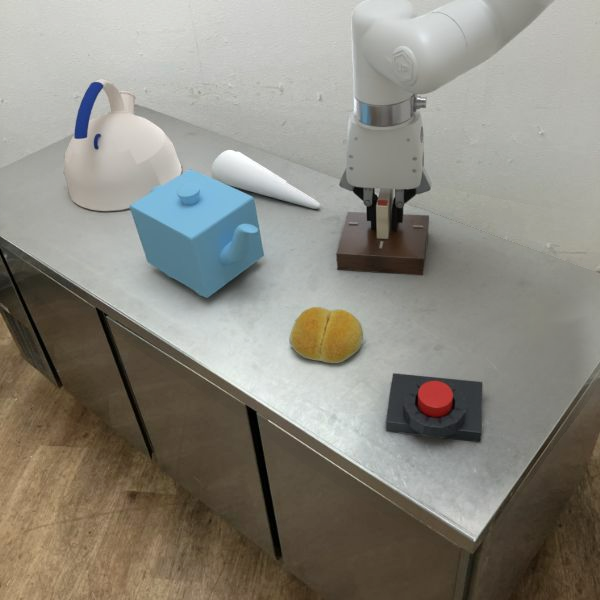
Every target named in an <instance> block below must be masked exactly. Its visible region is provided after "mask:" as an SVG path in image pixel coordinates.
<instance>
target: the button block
mask: <svg viewBox="0 0 600 600" xmlns="http://www.w3.org/2000/svg"><path fill="white" fill-rule="evenodd" d="M429 381H439V382H443V383H445V384H446V385H448V386H449V387H450V388H451V390H452V392H453V401H452V408H451V411H450V412H449V413H448V414H447V415H445V416H443V417H439V418H433V417H429V416H427V415H425V414H423V413H422V412H421V411H420V409H419V407H418V391H419V388H420V387H421V386H422V385H423V384H424V383H426V382H429ZM385 418H386V419H385V431H386V432H392V433H399V434H409V435H415V436H416V435H417V436H422V437H423V436H424V437H431V438H438V439H450V440H459V441H466V442H467V441H468V442H475V443H480V442H481V439H482V432H483V426H482V425H483V381H477V380H466V379H457V378H446V377H435V376H425V375H415V374H406V373H392V376H391V383H390V390H389V398H388V405H387V412H386V417H385Z"/></svg>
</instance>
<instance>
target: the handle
mask: <svg viewBox="0 0 600 600" xmlns="http://www.w3.org/2000/svg"><path fill="white" fill-rule="evenodd" d="M377 197H378V201H377V205H376V223H377V238H378V239H388V237H389V232H390V227H391V222H392V205H393V200H394V189H383V188H379V191H378V195H377Z"/></svg>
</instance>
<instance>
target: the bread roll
mask: <svg viewBox="0 0 600 600" xmlns="http://www.w3.org/2000/svg"><path fill="white" fill-rule="evenodd" d="M288 341H289V344H290V347H292V349H293V350H294V351H295V352H296V353H297V354H298V355H299V356H301V357H303V358H305V359H309V360H312V361H320V362H321V361H322V362H324V363H329V364H339V363H342V362H345V361H346V360H347V359H349V358H350V357H352V356H353V355H355V353H357V352H358V351H359V350H360V349H361V347H362V345H363V341H364V330H363V326H362V324H361V322H360V321H359V319H358V318H357V317H356V316H354V315H353V314H352V313H350V312H349V311H347V310H345V309H333V310H330V309H327V308H325V307H321V306H311V307H309V308H307V309H305V310H304V311H302V312H301V313H300V315H298V316H297V318H296V319H295V321H294V322H293V325H292V328H291V330H290V332H289V337H288Z"/></svg>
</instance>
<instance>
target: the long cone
mask: <svg viewBox="0 0 600 600" xmlns="http://www.w3.org/2000/svg"><path fill="white" fill-rule="evenodd" d="M210 170H211V171H210V175H211V178H212V179H215V180H217V181H219V182H221V183H224V184H226V185H228V186H230V187H232V188H236V189H241V190H244V191H248V192H252V193H254V194H255V193H256V194H259V195H262V196H265V197H269V198H273V199H277V200H281V201H284V202H287V203H291V204H295V205H298V206H302V207H305V208H309V209H314V210H319V209H321V207H322V204H321V203H320V202H319V201H317V200H316V199H314V198H313V197H312V196H310V195H308V194H306V193H305V192H303V191H301V190H299V189H298V188H296V187H295V186H293V185H291V184H290V183H288V181H287V180H286V179H284V178H282V177H280V176H279V175H277V174H276V173H274V172H273V171H271V170H270V169H268V168H266V167H264V166H263V165H261V164H260V163H258V162H257V161H255V160H254V159H252V158H250V157H248V156H247V155H246V154H243V153H242V152H240V151H235V150H232V149H226V150H224V151H223V152H221V153H220V154H219V155H218V156H216V158H215V160H214V161H213V163H212V166H211V169H210Z"/></svg>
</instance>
